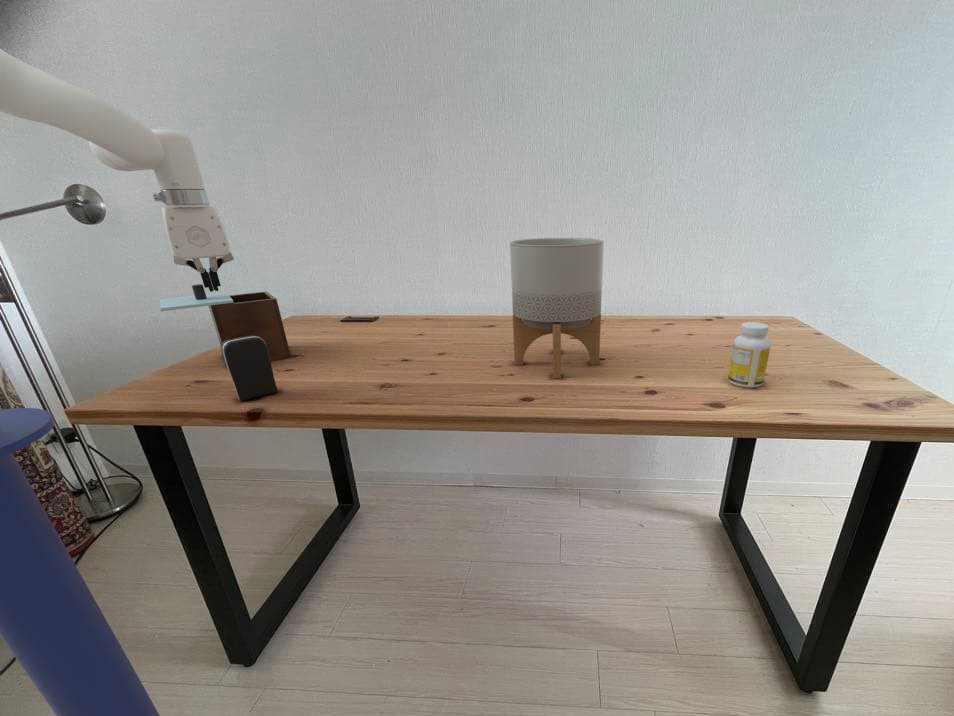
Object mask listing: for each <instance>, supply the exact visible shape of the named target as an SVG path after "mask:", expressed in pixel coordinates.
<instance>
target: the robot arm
mask: <svg viewBox="0 0 954 716" xmlns="http://www.w3.org/2000/svg"><path fill="white" fill-rule="evenodd" d="M0 112H1V113H5V114H7V115H10V116H13V117H17V118H19V119H24V120H27V121H32V122H37V123H40V124H45V125H49V126H52V127H54V128H57V129H60V130H63V131H65V132H67V133H70V134H73V135H74V136H77V137H80V138H82V139H84V140H86V141H88V145H89V149H90V151H91V152H92V154H93V156H94V157H95V158H96V159H97V161H99V162H100V163H101V164H103V165H105V166H106V167H108V168H110V169H113V170H115V171H120V172H136V171H149V170H151V171H153V172H154V175H155V178H156V182H157V185H158V188H159V190H160V191H159V192H157V193H152V197H153V199H154V202H160V203H162V204H164V206H165V207H161V215H162V221H163V226H164V229H165V232H166V233H165V234H166V236H167V240H168V243H169V247H170V249H171V252H172V254H173V263H174V264H175V265H178V266H185V267H190V268H192V269H193V270H195V271H197V272H198V273H199V274H200V277H201V280H202V285H203V287H204V289H206V288H208V291H209V292H211V293H212V292H214V291H215V292H219V287H221V286H222V285H221V284H222V283H221V281H220V278H219V274H218V271H219V269H220V268H221V267H222V266H223V264H225V263H229V262H232V261H234V260H235V258H234V256H233V254H232V252H231V248H230V243H229V240H228V237H227V234H226V231H225V228H224V225H223V222H222V220H221V217H220V215H219V213H218V210H217V208H216V207H215V206H211V204H210V202H209V201H210V200H209V197H208V194H207V190H206V189H205V184H204V181H203V177H202V174H201V171H200V167H199V164H198V160H197V155H196V152H195V149H194V145H193V142H192V140H191V138H190V136H189V135H188V134H187V133H185V132H183V131H180V130H177V129H168V128H167V129H165V128H164V129H163V128H153V129H151V128H149V127H148V126H147V125H146V124H144V123H143V122H141V121H140V120H138V119H137V118H135V117H133V116H132V115H130V114H128V113H127V112H126V111H124V110H122V109H120V108H118V107H117V106H115V105H114V104H111V102H108V101H107V100H105V99H104V98H102V97H99V96H98V95H95V94H94V93H92V92H90V91H89V90H86V89H84V88H82V87H80V86H77V85H75V84H73V83H70V82H68V81H66V80H64V79H61V78H59V77H57V76H55V75H52V74H51V73H48V72H46V71H45V70H42V69H40V68H38V67H35V66H33V65H30V64H28V63H26V62H24V61H22V60H20V59H19V58H17V57H15V56H13V55H12V54H11V53H8V52H6V51H4V50H3V49H1V48H0ZM207 258H208V262H209V263H208V264H209V268H208V271H207V269H206V268H205V267H204V266H203V263H202V261H201V259H207Z"/></svg>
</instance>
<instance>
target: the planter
mask: <svg viewBox="0 0 954 716" xmlns="http://www.w3.org/2000/svg"><path fill="white" fill-rule="evenodd" d="M604 242H605V241H604V239H600V238H599V239H598V238H587V237H539V238H525V239H523V238H522V239H515V240H511V241H509V250H510V253H509V254H510V276H511V279H510V280H511V297H512V298H511V303H512V304H511V305H512V333H513V356H514V357H513V358H514V360H513V361H514V365H515V366H517V365H518V366H524V357H525V354H526V352H527V350H528V348H529V347H530V345H531V344H532V343H534V341H536V340H537V339H539V338H541V337H544V336H547V335H552V379H561V378H562V371H561V370H562V335H567V336H570V337H573V338H574V339H577V340H578V341H579V342H580V343H582V344H583V346H584V347H585V348H586V351H587V352H588V356H589V361H590V362H589V363H590V365H600V347H601V326H602V325H601V324H602V313H601V312H602V297H603V296H602V294H603V272H604V271H603V268H604Z"/></svg>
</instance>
